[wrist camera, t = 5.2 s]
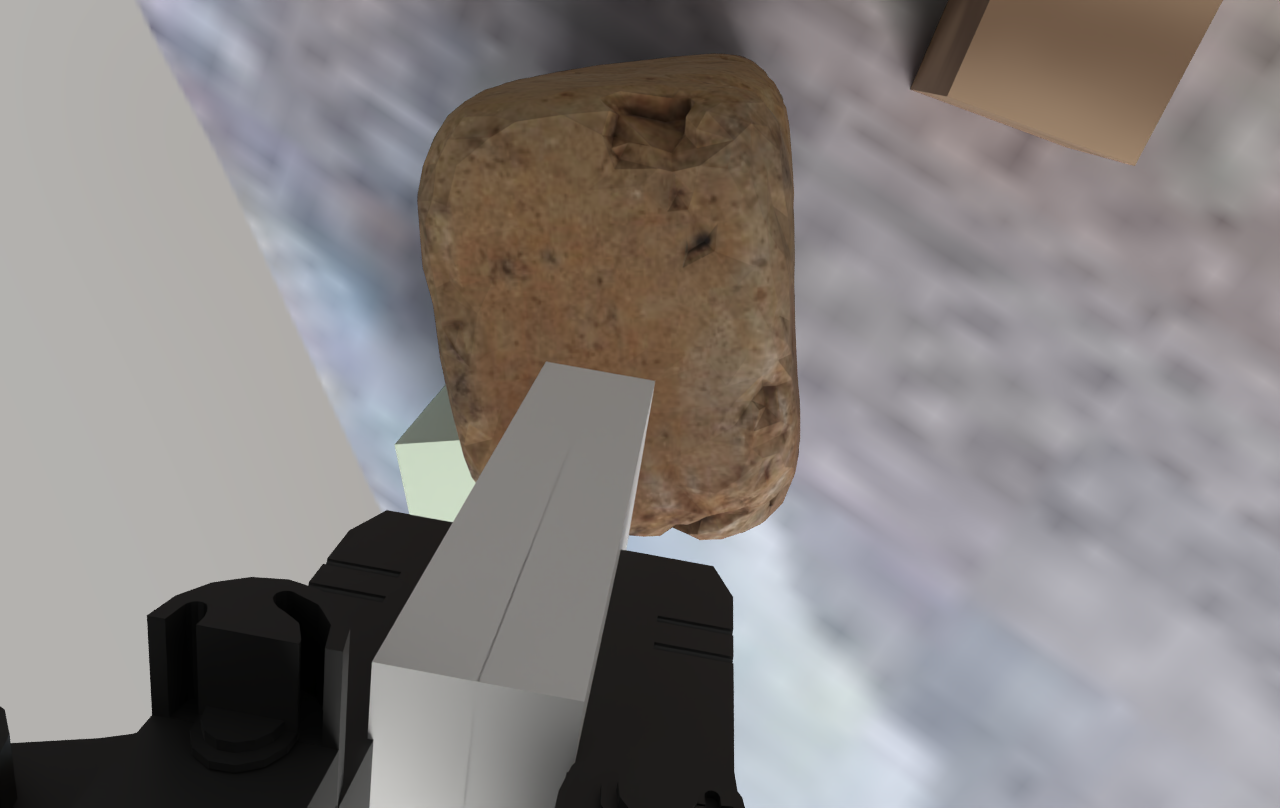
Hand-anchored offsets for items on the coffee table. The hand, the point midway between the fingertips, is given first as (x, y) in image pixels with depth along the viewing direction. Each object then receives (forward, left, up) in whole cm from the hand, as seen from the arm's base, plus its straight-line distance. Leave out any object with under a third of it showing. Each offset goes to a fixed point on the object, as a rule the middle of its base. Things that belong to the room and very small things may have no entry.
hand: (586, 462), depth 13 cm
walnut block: (-8, +11, -24) cm, 27 cm away
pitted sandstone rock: (0, 0, -24) cm, 24 cm away
